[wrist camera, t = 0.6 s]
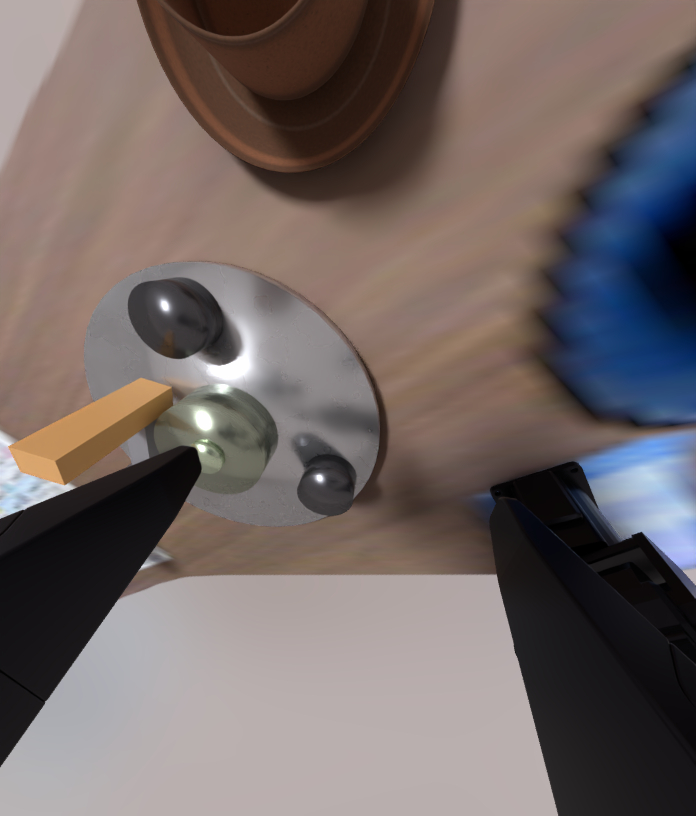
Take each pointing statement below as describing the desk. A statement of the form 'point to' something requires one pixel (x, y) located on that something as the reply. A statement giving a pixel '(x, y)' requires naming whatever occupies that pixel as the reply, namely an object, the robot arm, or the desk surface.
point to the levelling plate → (242, 388)
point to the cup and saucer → (287, 71)
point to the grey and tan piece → (96, 433)
